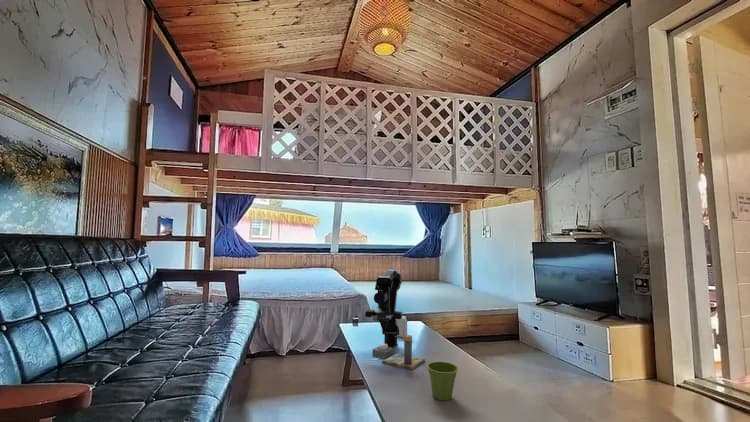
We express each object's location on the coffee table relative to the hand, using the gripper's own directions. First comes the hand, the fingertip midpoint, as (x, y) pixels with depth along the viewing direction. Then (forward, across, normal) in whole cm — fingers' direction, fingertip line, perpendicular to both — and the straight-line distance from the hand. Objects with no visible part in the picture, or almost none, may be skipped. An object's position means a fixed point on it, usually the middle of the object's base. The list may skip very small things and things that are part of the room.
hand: (383, 331), depth 188 cm
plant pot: (+12, +32, -42) cm, 54 cm away
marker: (+10, +14, -13) cm, 22 cm away
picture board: (+12, +12, -9) cm, 19 cm away
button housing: (+12, 0, 0) cm, 12 cm away
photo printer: (+12, +3, +37) cm, 39 cm away
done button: (+10, 0, 0) cm, 10 cm away
